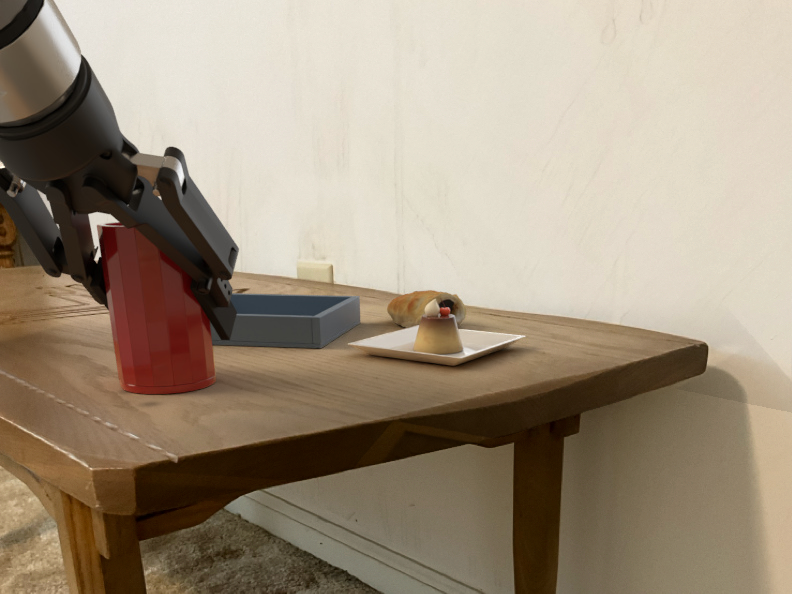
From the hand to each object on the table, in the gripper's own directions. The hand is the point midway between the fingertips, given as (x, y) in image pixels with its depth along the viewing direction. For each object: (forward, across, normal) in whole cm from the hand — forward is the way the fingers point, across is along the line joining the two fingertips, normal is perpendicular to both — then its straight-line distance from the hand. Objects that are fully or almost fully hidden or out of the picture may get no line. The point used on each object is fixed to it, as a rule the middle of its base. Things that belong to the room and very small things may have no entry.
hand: (182, 324), depth 69 cm
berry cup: (0, 0, -5) cm, 5 cm away
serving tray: (+17, -1, +11) cm, 20 cm away
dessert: (+12, +19, +6) cm, 23 cm away
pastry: (+22, +15, +16) cm, 31 cm away
